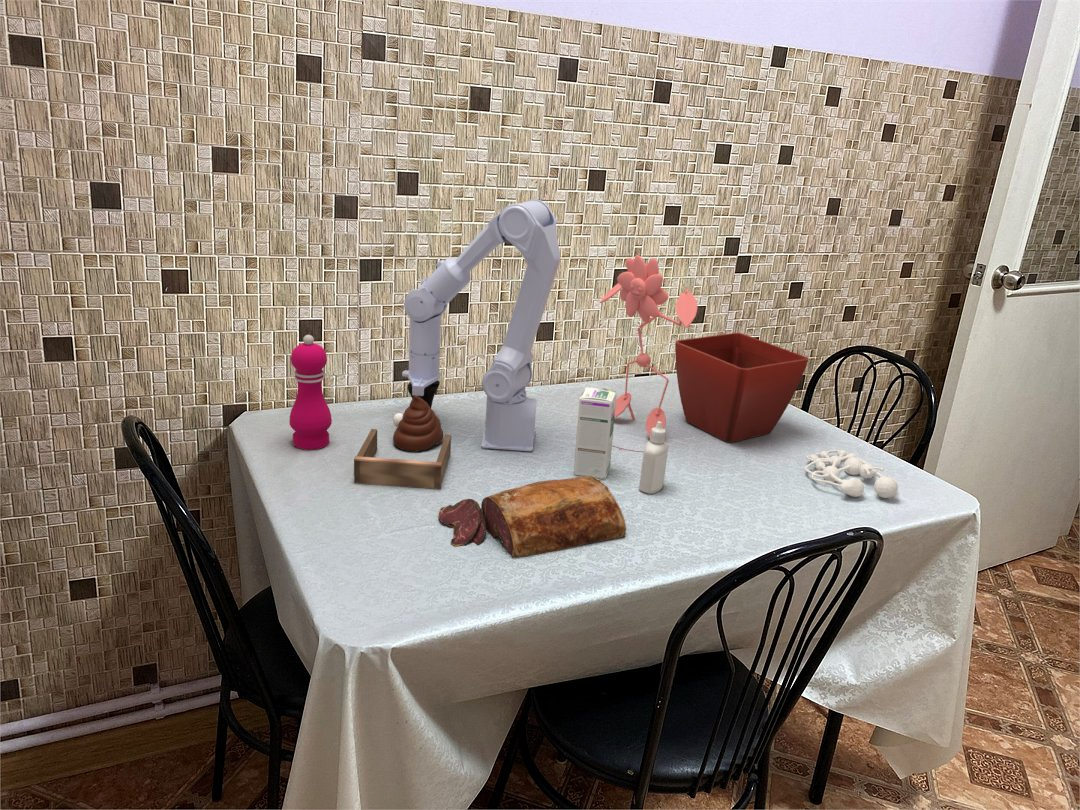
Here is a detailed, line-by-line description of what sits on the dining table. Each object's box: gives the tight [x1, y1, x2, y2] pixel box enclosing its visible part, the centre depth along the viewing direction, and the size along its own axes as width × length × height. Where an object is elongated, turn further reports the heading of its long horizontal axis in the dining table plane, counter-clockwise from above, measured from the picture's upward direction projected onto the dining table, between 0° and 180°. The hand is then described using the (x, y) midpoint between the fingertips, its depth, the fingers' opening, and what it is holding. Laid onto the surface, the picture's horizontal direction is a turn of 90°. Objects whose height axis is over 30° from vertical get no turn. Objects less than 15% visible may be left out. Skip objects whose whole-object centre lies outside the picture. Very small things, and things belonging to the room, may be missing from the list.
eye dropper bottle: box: [638, 421, 669, 495], centre depth 141 cm, size 4×6×12 cm
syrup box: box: [573, 387, 617, 480], centre depth 145 cm, size 6×6×14 cm
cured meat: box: [438, 476, 627, 558], centre depth 127 cm, size 18×25×7 cm
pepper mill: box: [289, 334, 333, 451], centre depth 147 cm, size 7×7×20 cm
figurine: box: [599, 254, 699, 453], centre depth 159 cm, size 15×26×35 cm, turn 36°
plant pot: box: [674, 332, 810, 443], centre depth 169 cm, size 19×19×17 cm
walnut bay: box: [353, 428, 452, 490], centre depth 143 cm, size 14×14×4 cm
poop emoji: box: [392, 396, 445, 453], centre depth 153 cm, size 10×8×9 cm
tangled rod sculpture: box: [803, 449, 899, 499], centre depth 152 cm, size 19×14×4 cm
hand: (422, 418), depth 162 cm, fingers closed
